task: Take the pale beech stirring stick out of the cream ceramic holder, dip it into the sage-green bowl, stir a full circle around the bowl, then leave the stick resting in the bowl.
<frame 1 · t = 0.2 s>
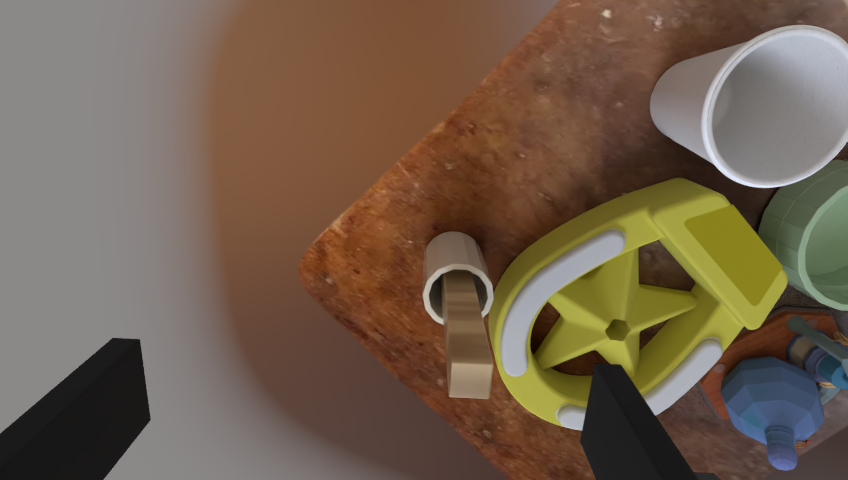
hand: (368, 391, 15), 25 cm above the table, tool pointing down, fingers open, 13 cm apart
model: (767, 362, 43), on the table
stick: (453, 261, 39), resting on holder
bowl: (819, 223, 39), on the table
dixie cup: (688, 100, 36), on the table
holder: (452, 258, 40), on the table
toy steering wheel: (608, 300, 41), on the table
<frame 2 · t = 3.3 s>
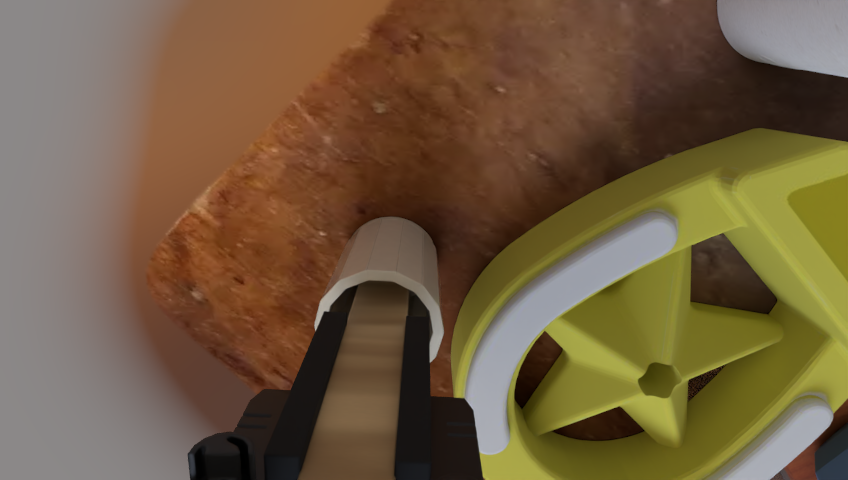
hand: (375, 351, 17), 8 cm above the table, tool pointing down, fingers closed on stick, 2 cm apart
stick: (390, 264, 24), point 1 cm above the table, touching gripper
holder: (391, 261, 25), on the table
toy steering wheel: (639, 327, 26), on the table
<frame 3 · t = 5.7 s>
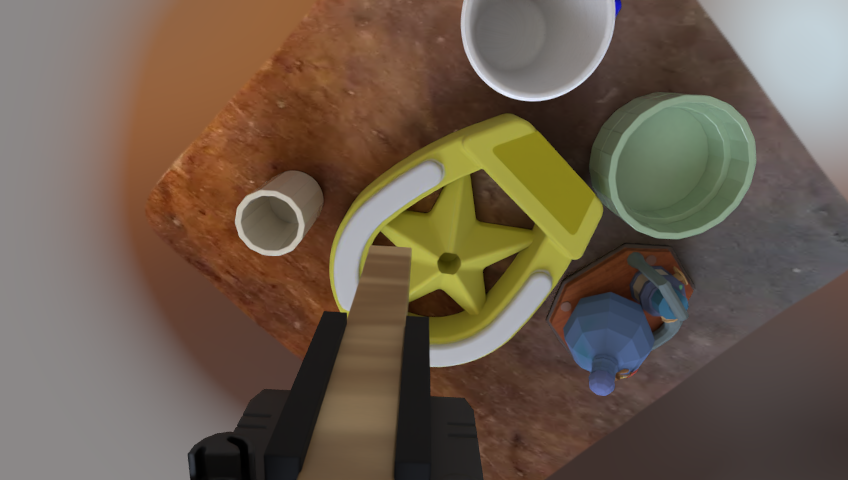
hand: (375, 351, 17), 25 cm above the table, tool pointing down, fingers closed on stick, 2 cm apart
model: (617, 302, 44), on the table
stick: (390, 265, 24), point 17 cm above the table, touching gripper
bowl: (651, 158, 40), on the table
die: (594, 8, 36), on the table
dixie cup: (508, 34, 37), on the table
holder: (295, 198, 41), on the table
toy steering wheel: (453, 240, 42), on the table
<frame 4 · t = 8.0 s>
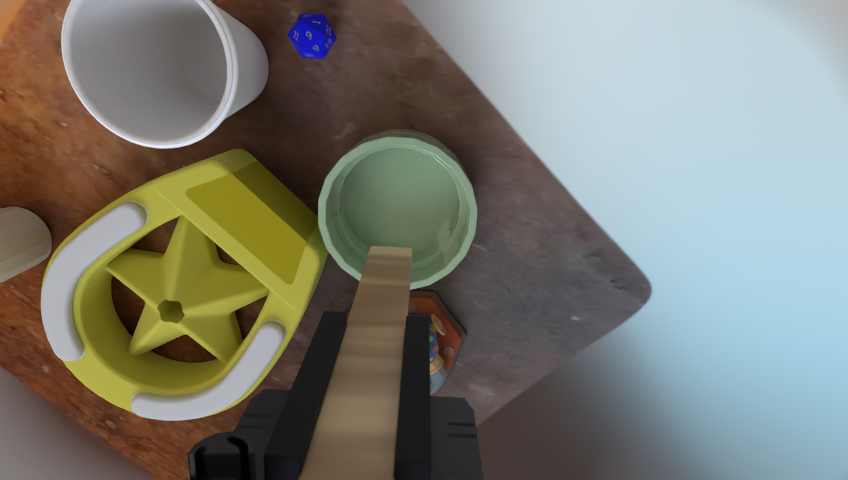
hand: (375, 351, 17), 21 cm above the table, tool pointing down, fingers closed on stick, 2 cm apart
model: (388, 348, 41), on the table
stick: (390, 265, 24), point 13 cm above the table, touching gripper
bowl: (400, 198, 36), on the table
die: (317, 37, 33), on the table
dixie cup: (227, 64, 34), on the table
holder: (20, 236, 37), on the table
toy steering wheel: (201, 282, 39), on the table
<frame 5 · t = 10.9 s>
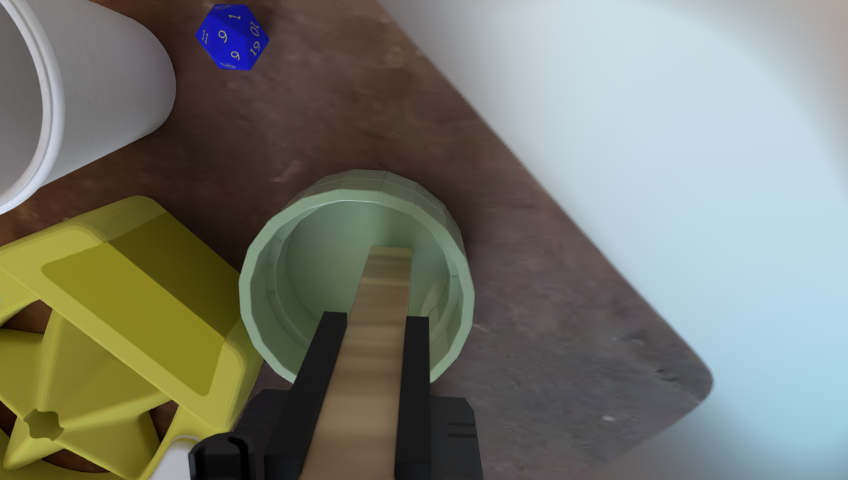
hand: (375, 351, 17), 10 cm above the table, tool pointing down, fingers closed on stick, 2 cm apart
stick: (390, 265, 24), point 2 cm above the table, touching gripper
bowl: (369, 262, 26), on the table
die: (244, 39, 23), on the table
dixie cup: (117, 77, 24), on the table
toy steering wheel: (101, 371, 29), on the table
when the fingers open (9 cm above the table, at t = 12.7 s): stick stays where it is, resting on bowl.
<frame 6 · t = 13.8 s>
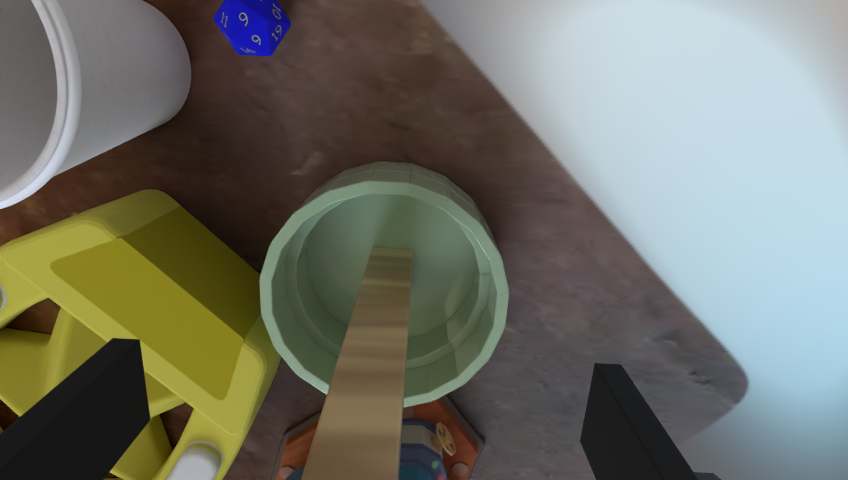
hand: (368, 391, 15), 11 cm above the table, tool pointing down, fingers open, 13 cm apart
model: (375, 460, 29), on the table
stick: (391, 266, 25), point 1 cm above the table, touching bowl
bowl: (391, 260, 25), on the table
die: (263, 24, 22), on the table
dixie cup: (129, 64, 22), on the table
toy steering wheel: (110, 372, 27), on the table
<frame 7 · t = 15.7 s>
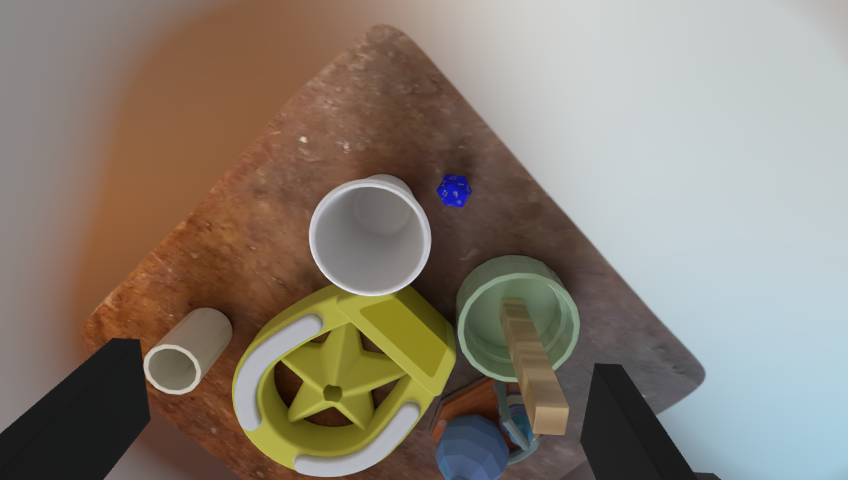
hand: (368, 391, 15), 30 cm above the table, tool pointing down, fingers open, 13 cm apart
model: (490, 417, 50), on the table
stick: (510, 308, 46), point 1 cm above the table, touching bowl
bowl: (509, 304, 46), on the table
die: (453, 187, 43), on the table
dixie cup: (383, 205, 44), on the table
holder: (208, 329, 48), on the table
toy steering wheel: (345, 364, 49), on the table
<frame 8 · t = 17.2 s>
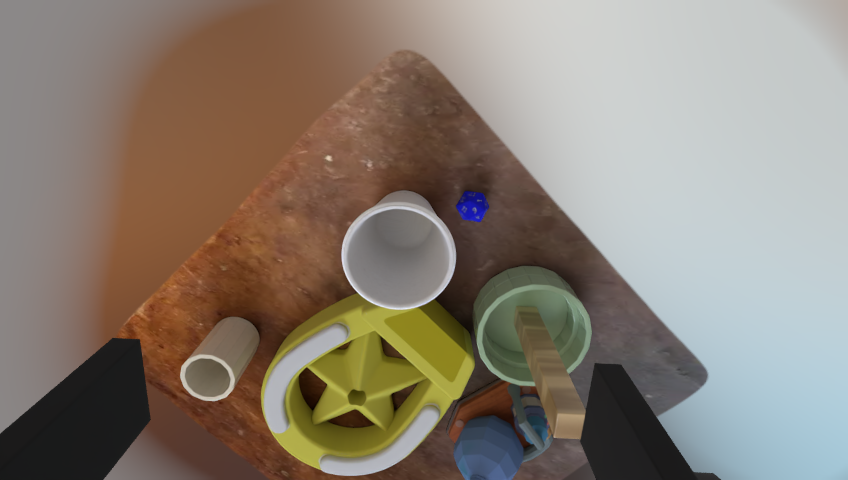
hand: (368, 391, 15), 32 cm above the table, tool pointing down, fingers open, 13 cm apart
model: (504, 417, 53), on the table
stick: (524, 315, 48), point 1 cm above the table, touching bowl
bowl: (523, 311, 49), on the table
die: (471, 202, 46), on the table
dixie cup: (404, 219, 46), on the table
holder: (236, 337, 50), on the table
toy steering wheel: (367, 369, 51), on the table
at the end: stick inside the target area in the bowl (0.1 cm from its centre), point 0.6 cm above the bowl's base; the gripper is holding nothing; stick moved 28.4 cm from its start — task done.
